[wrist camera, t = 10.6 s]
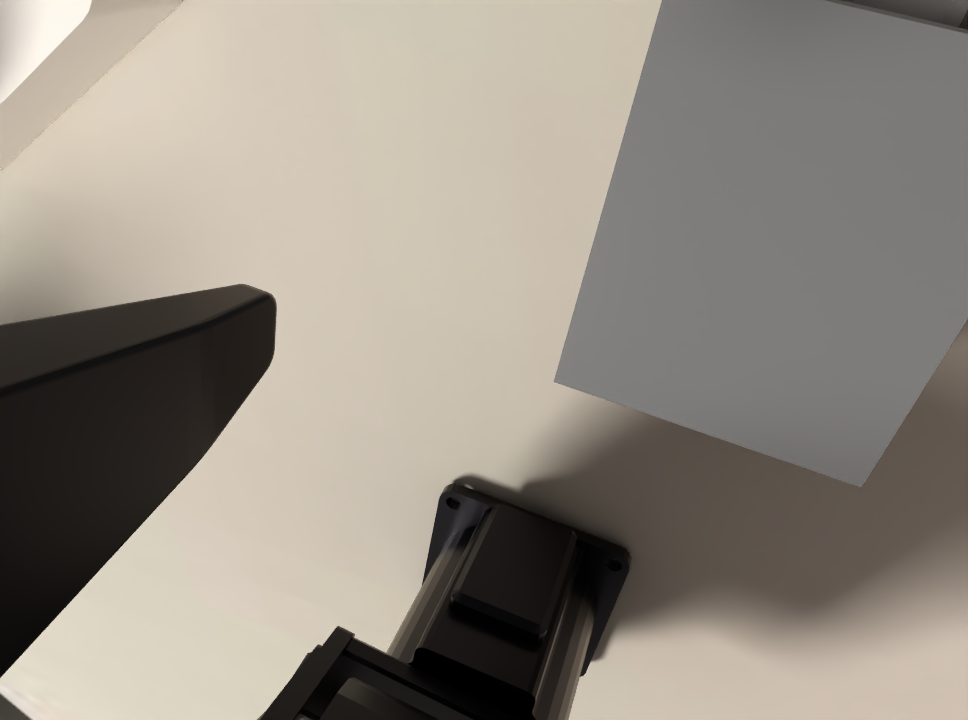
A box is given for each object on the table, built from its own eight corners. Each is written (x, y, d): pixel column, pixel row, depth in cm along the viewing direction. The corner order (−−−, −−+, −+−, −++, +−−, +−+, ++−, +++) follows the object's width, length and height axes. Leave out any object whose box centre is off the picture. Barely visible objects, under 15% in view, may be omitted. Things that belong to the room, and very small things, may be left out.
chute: (844, 363, 19) (861, 487, 15) (600, 286, 20) (553, 381, 16) (1027, 26, 14) (1123, 70, 10) (700, -49, 16) (672, -35, 12)
